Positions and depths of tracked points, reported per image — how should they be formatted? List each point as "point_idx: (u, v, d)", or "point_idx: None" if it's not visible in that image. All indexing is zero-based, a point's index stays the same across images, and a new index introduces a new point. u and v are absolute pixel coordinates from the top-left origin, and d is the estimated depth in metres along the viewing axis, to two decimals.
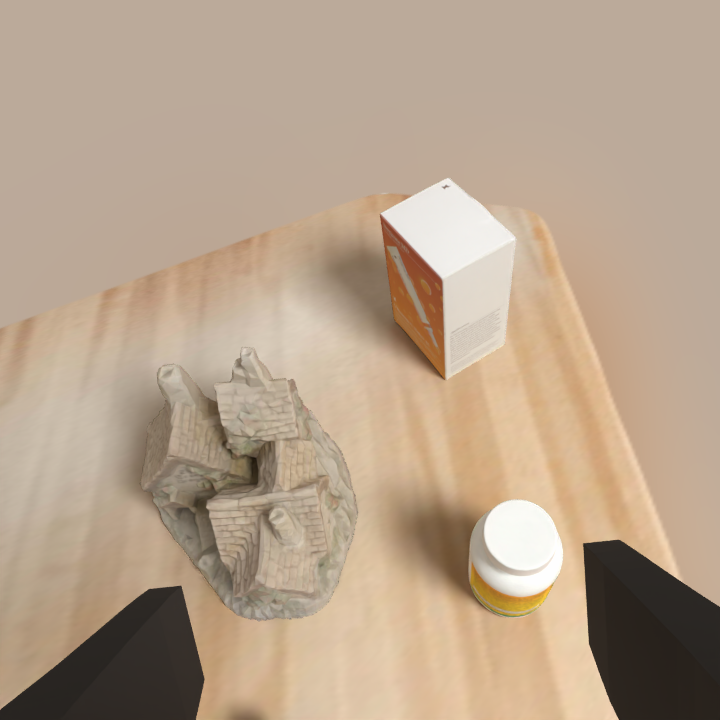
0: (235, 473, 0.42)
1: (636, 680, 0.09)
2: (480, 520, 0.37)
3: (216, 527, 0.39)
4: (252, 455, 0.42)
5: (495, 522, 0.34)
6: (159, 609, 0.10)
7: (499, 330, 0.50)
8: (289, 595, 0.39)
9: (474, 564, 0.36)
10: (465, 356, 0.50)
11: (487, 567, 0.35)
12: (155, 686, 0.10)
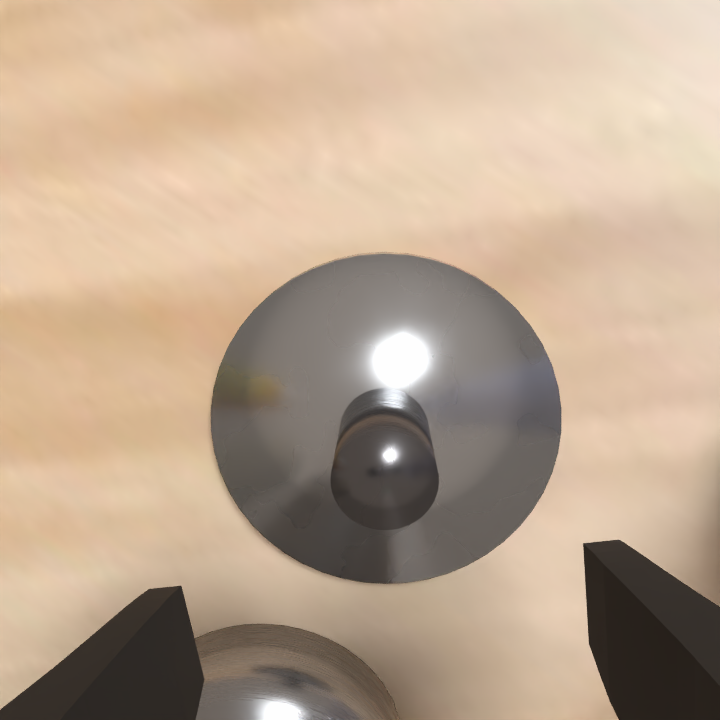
0: None
1: (637, 680, 0.09)
2: None
3: None
4: None
5: None
6: (159, 609, 0.10)
7: None
8: None
9: None
10: None
11: None
12: (155, 686, 0.10)
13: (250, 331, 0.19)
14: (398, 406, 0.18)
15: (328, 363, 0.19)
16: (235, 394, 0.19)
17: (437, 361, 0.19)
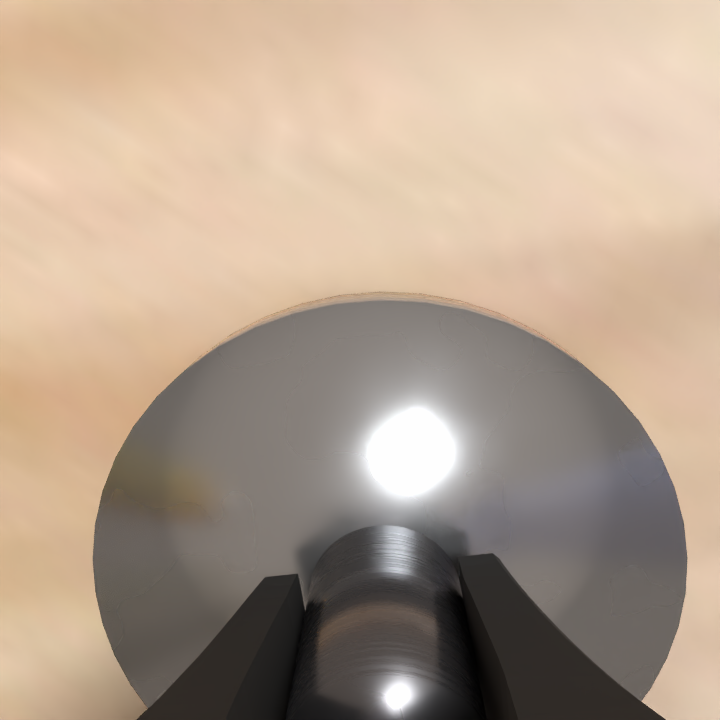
0: None
1: (487, 694, 0.09)
2: None
3: None
4: None
5: None
6: (287, 596, 0.10)
7: None
8: None
9: None
10: None
11: None
12: (288, 674, 0.09)
13: (150, 433, 0.11)
14: (411, 580, 0.10)
15: (287, 485, 0.11)
16: (132, 535, 0.11)
17: (475, 482, 0.11)
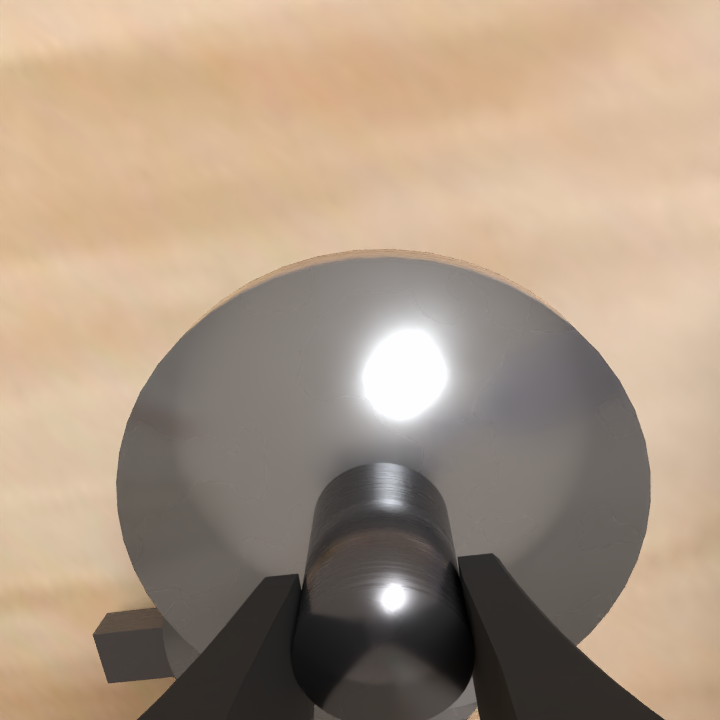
0: None
1: (486, 694, 0.09)
2: None
3: None
4: None
5: None
6: (287, 596, 0.10)
7: None
8: None
9: None
10: None
11: None
12: (288, 674, 0.09)
13: (174, 371, 0.12)
14: (408, 511, 0.11)
15: (298, 423, 0.12)
16: (153, 462, 0.12)
17: (468, 427, 0.12)
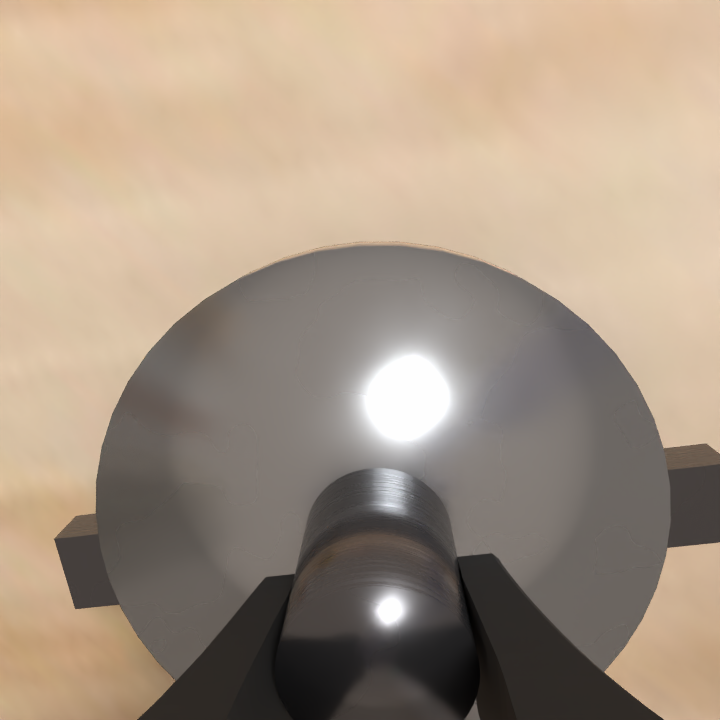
0: None
1: (486, 694, 0.09)
2: None
3: None
4: None
5: None
6: (288, 596, 0.10)
7: None
8: None
9: None
10: None
11: None
12: None
13: (165, 360, 0.11)
14: (409, 514, 0.10)
15: (294, 421, 0.11)
16: (137, 460, 0.12)
17: (475, 432, 0.11)
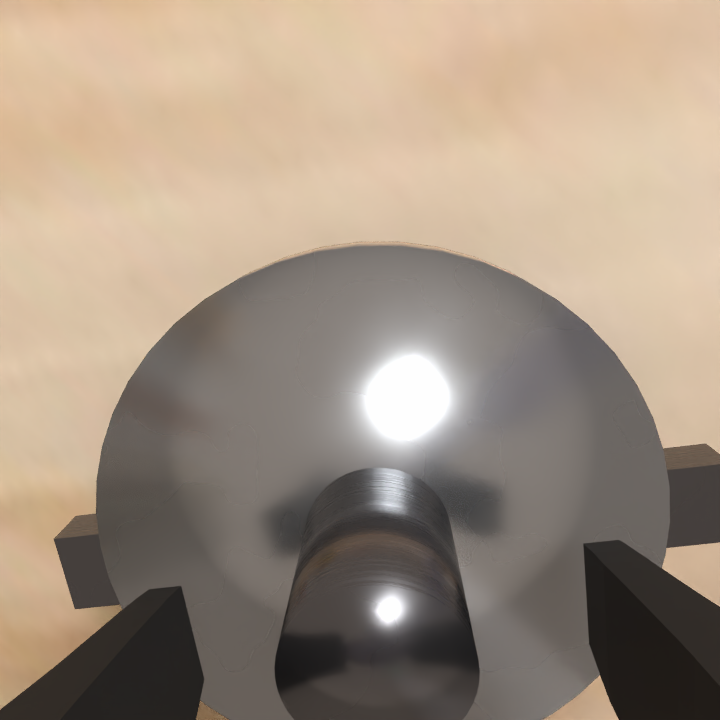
0: None
1: (637, 680, 0.09)
2: None
3: None
4: None
5: None
6: (159, 609, 0.10)
7: None
8: None
9: None
10: None
11: None
12: (155, 686, 0.10)
13: (165, 360, 0.11)
14: (408, 513, 0.10)
15: (294, 421, 0.11)
16: (137, 459, 0.12)
17: (475, 431, 0.11)
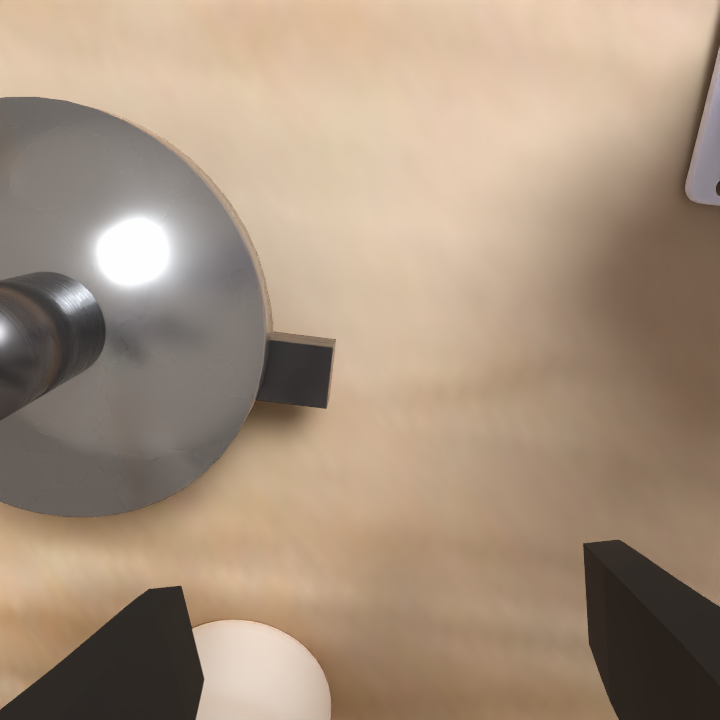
0: None
1: (636, 680, 0.09)
2: None
3: None
4: None
5: None
6: (159, 609, 0.10)
7: None
8: None
9: None
10: None
11: None
12: (155, 686, 0.10)
13: None
14: (46, 291, 0.14)
15: (2, 221, 0.15)
16: None
17: (132, 263, 0.15)
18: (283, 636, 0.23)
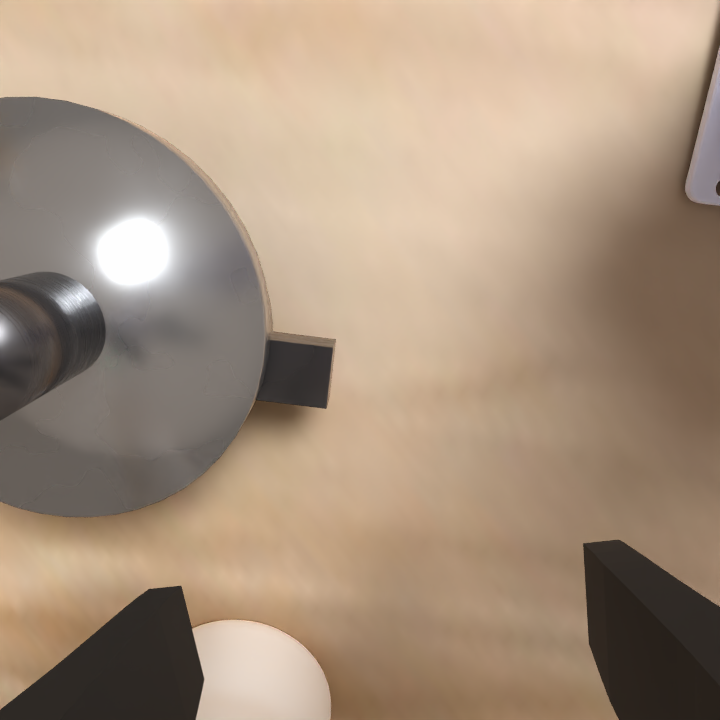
0: None
1: (636, 680, 0.09)
2: None
3: None
4: None
5: None
6: (159, 609, 0.10)
7: None
8: None
9: None
10: None
11: None
12: (155, 686, 0.10)
13: None
14: (46, 291, 0.14)
15: (2, 221, 0.15)
16: None
17: (132, 263, 0.15)
18: (283, 636, 0.23)
